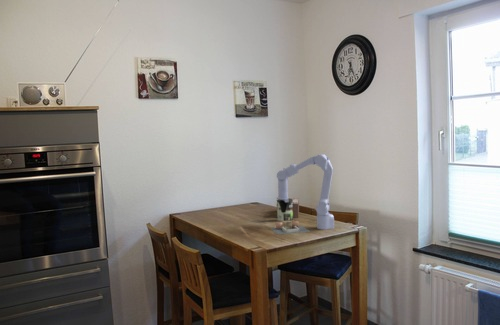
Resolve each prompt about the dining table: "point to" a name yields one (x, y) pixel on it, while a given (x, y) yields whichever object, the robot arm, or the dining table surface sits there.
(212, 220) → the dining table surface
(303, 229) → the slate board
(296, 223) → the pink rounded cylinder
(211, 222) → the dining table surface
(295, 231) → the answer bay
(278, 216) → the coffee can
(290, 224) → the maple cube
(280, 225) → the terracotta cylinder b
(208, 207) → the dining table surface
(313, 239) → the dining table surface
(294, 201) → the tissue box cover
